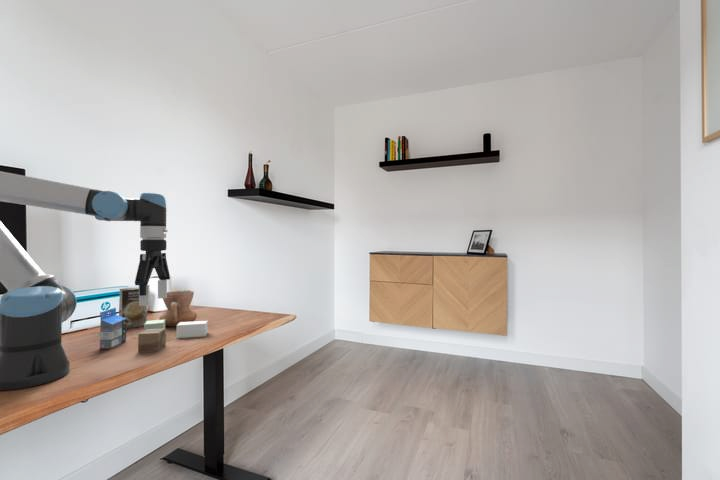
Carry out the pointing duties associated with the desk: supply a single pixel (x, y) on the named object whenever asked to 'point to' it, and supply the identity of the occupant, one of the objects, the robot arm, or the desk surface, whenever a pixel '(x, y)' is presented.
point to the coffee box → (132, 308)
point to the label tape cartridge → (112, 329)
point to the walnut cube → (151, 340)
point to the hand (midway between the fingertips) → (153, 301)
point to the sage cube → (154, 324)
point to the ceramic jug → (178, 308)
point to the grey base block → (192, 329)
